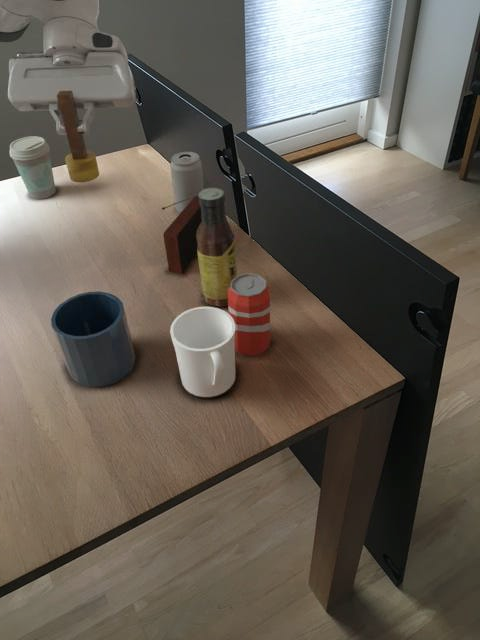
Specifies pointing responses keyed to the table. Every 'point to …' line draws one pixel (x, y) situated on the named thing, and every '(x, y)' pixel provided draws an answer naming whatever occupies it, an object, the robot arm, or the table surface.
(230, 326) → the mug
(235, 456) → the table surface
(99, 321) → the blue bin
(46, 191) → the coffee cup
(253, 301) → the beverage can
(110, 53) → the robot arm
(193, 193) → the beverage can
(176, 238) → the radio
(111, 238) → the table surface
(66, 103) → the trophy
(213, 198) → the sauce bottle
